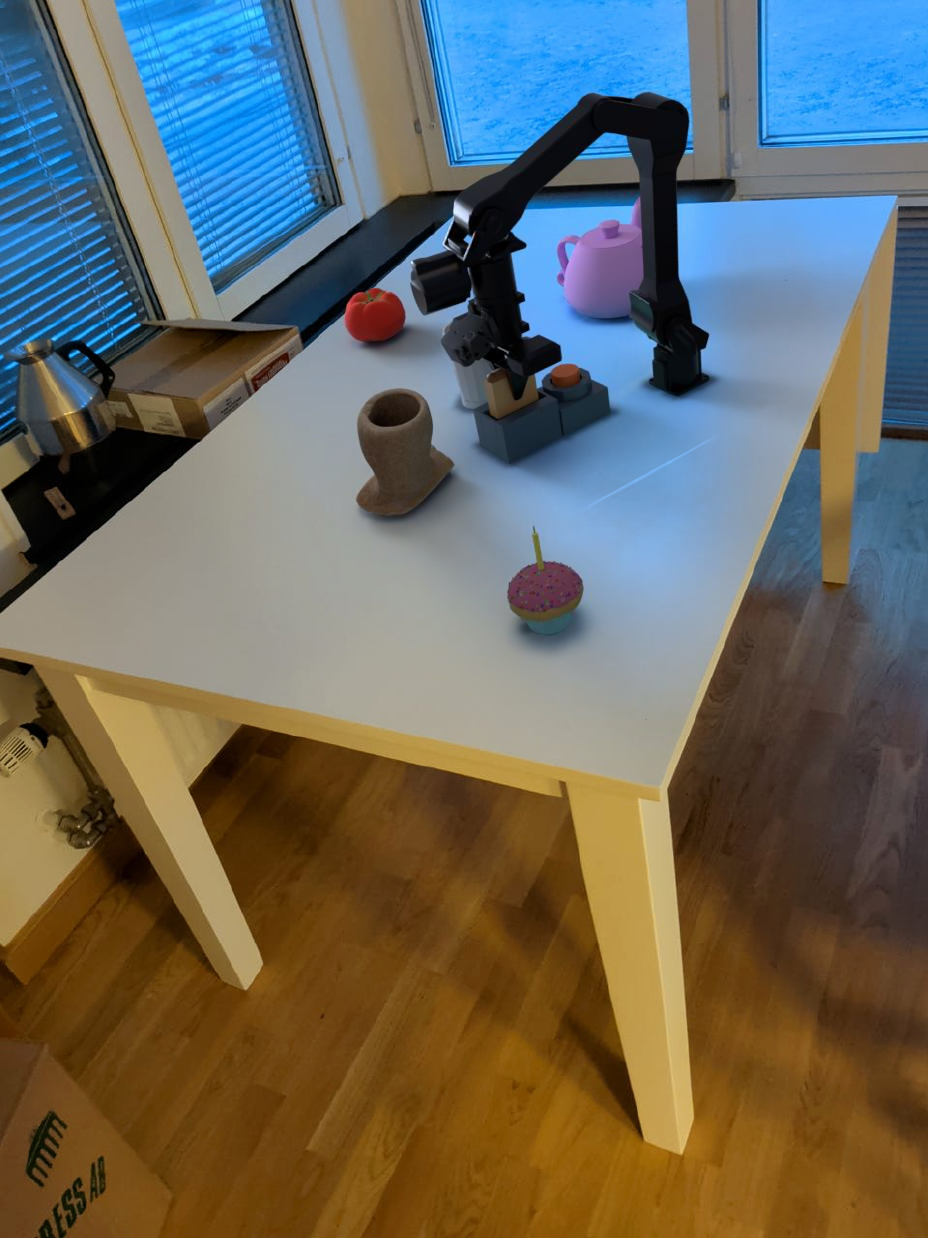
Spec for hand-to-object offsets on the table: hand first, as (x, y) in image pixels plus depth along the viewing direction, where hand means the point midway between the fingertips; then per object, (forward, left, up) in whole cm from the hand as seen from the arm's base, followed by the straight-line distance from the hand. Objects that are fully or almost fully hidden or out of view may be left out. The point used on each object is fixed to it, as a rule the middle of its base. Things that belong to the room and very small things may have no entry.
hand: (513, 396), depth 147 cm
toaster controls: (-9, 0, -7) cm, 12 cm away
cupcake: (+21, +35, -7) cm, 41 cm away
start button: (-9, 0, -2) cm, 9 cm away
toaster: (0, 0, -7) cm, 7 cm away
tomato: (-4, -50, -7) cm, 51 cm away
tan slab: (0, 0, -2) cm, 2 cm away
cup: (-3, -15, -7) cm, 17 cm away
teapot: (-39, -25, -7) cm, 47 cm away
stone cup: (+18, -1, -7) cm, 19 cm away
